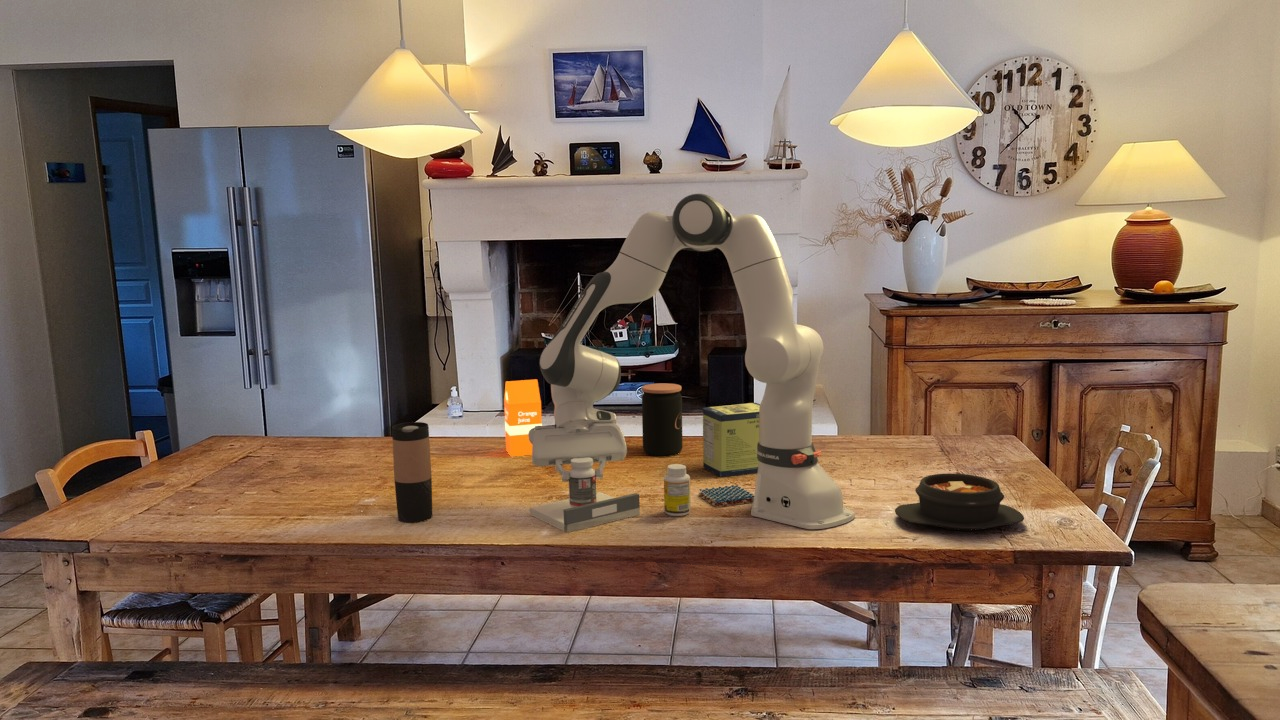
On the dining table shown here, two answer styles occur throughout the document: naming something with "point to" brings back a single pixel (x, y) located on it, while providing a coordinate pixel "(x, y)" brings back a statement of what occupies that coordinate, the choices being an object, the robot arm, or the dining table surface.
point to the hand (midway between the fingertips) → (582, 479)
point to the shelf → (587, 512)
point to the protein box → (731, 439)
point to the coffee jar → (662, 419)
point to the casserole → (959, 503)
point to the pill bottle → (582, 482)
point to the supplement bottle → (677, 491)
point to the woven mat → (726, 496)
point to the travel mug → (412, 471)
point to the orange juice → (521, 415)
